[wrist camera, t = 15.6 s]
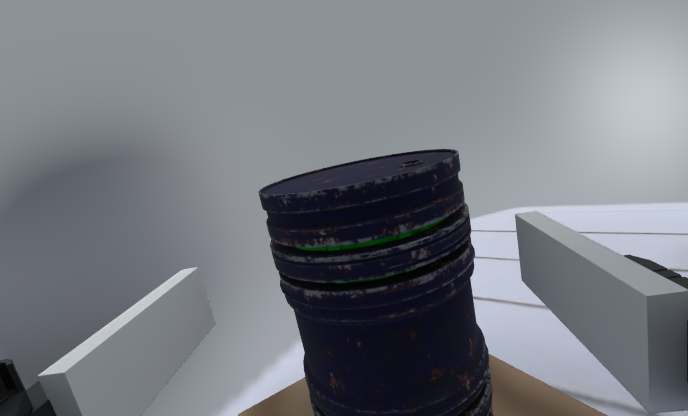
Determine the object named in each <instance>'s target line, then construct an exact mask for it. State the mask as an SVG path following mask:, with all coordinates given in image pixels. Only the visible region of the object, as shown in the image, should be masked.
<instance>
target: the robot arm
mask: <svg viewBox="0 0 688 416" xmlns="http://www.w3.org/2000/svg"><path fill="white" fill-rule="evenodd" d="M515 219H516V229H517V238H518V248H519V258H520V267H521V277H522V281H523V282H524V283H525V284H526V285H527V286H528V287H529V288H530V289H531V290H532V292H533V293H534V294H535V295H536V296H537V297H538V298H539V299H540V300H541V301H542V302H543V303H544V304H545V305H546V306H547V307H548V308H549V309H550V310H551V311H552V312H553V313H554V314H555V316H556V317H557V318H558V319H559V320H560V321H561V322H562V323H563V324H564V325H565V326H566V327H567V328H568V329H569V330H570V331H571V332H572V333H573V334H574V335H575V336H576V337H577V339H578V340H579V341H580V342H581V343H582V344H583V345H584V346H585V347H586V348H587V349H588V350H589V351H590V352H591V353H592V354H593V355H594V356H595V357H596V358H597V359H598V360H599V361H600V363H601V364H602V365H603V366H604V367H605V368H606V369H607V370H608V371H609V372H610V373H611V374H612V375H613V376H614V377H615V378H616V379H617V380H618V381H619V382H620V383H621V384H622V385H623V387H624V388H625V389H626V390H627V391H628V392H629V393H630V394H631V395H632V396H633V397H634V398H635V399H636V400H637V401H638V402H639V403H640V404H641V405H642V406H643V407H644V408H645V409H646V411H647V412H648V413H649V414H652V413H663V412H674V411H685V410H688V278H686V277H681V275H680V274H678V273H675V272H673V271H671V270H667V268H665V267H663V266H661V265H659V264H657V263H655V262H653V261H651V260H647V259H643V258H639V257H635V256H631V255H624V256H622V255H620V254H618V253H616V252H615V251H613V250H611V249H609V248H607V247H605V246H603V245H601V244H599V243H597V242H595V241H593V240H591V239H589V238H588V237H586V236H584V235H582V234H580V233H578V232H576V231H574V230H572V229H570V228H568V227H566V226H564V225H562V224H561V223H559V222H557V221H555V220H553V219H551V218H549V217H547V216H545V215H543V214H541V213H539V212H537V211H532V212H526V213H520V214H515ZM215 324H216V323H215V320H214V316H213V313H212V310H211V307H210V303H209V300H208V297H207V294H206V290H205V287H204V284H203V281H202V277H201V274H200V271H199V268H198V267H196V268H189V269H184V270H181V271H180V272H178V273H177V274H176V275H174V276H173V277H171V278H170V279H169V280H167V281H166V282H165V283H163V284H162V285H161V286H159V287H158V288H157V289H155V290H154V291H152V292H151V293H150V294H148V295H147V296H146V297H145V298H143V299H142V300H140V301H139V302H137V303H136V304H135V305H133V306H132V307H131V308H129V309H128V310H127V311H125V312H124V313H123V314H121V315H120V316H118V317H117V318H116V319H114V320H113V321H112V322H110V323H109V324H108V325H106V326H105V327H103V328H102V329H101V330H99V331H98V332H97V333H95V334H94V335H93V336H91V337H90V338H88V339H87V340H86V341H84V342H83V343H82V344H80V345H79V346H78V347H76V348H75V349H74V350H72V351H71V352H69V353H68V354H67V355H65V356H64V357H63V358H61V359H60V360H59V361H57V362H56V363H55V364H53V365H52V366H50V367H49V368H48V369H46V370H45V371H44V372H42V373H41V374H39V375H38V378H39V381H38V382H37V383H35V384H34V385H33V386H31V387H30V388H29V389H27V390H25V388H24V386H23V383H22V381H21V379H20V377H19V375H18V372H17V370H16V368H15V365H14V363H13V361H12V360H8V359H5V360H0V416H142V414H143V413H144V412H145V411H146V409H147V408H148V407H149V406H150V404H151V403H152V402H153V401H154V400H155V398H156V397H157V396H158V395H159V393H160V392H161V391H162V390H163V388H164V387H165V386H166V385H167V384H168V382H169V381H170V380H171V379H172V377H173V376H174V375H175V374H176V372H177V371H178V370H179V369H180V368H181V366H182V365H183V363H185V361H186V360H187V359H188V358H189V356H190V355H191V354H192V353H193V352H194V350H195V349H196V348H197V347H198V345H199V344H200V343H201V342H202V340H203V339H204V338H205V337H206V335H207V334H208V333H209V332H210V331H211V329H212V328H213V327H214V326H215Z"/></svg>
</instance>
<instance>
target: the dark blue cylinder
mask: <svg viewBox="0 0 688 416" xmlns="http://www.w3.org/2000/svg"><path fill="white" fill-rule="evenodd" d="M459 171H460V162H459V154H458V151H457V150H453V149H435V150H422V151H414V152H406V153H399V154H392V155H386V156H380V157H375V158H369V159H364V160H359V161H354V162H350V163H345V164H340V165H335V166H331V167H327V168H323V169H319V170H315V171H311V172H307V173H303V174H300V175H296V176H293V177H290V178H287V179H283V180H281V181H278V182H275V183H273V184H270V185H268V186H266V187H264V188H262V189H261V190H260V191H259V196H260V200H261V203H262V207H263V209H264V210H266V211H267V215H268V219H267V222H266V223H267V226H268V231H269V234H270V237H271V239H272V240H271V243H270V247H271V250H272V255H273V259H274V262H275V266H276V268H277V270H278V271H279V274H280V278H281V280H280V287H281V289H282V292H283V293H284V294H285V297H286V300H287V302H288V304H290V306H291V307H292V308H293V309H294V312H295V315H296V320H297V324H298V328H299V331H300V335H301V339H302V343H303V347H304V351H305V355H304V361H303V362H304V372H305V378H306V382H307V385H308V388H309V395H310V401H311V405H312V409H313V412H314V416H493V413H492V397H493V391H492V382H491V375H490V367H489V354H488V348H487V346H486V344H485V339H484V336H483V333H482V331H481V329H480V328H479V326H478V325H477V323H476V317H475V310H474V303H473V295H472V288H471V281H470V277H471V276H472V274H473V270H474V257H475V251H474V247H473V246H472V244H471V238H470V234H471V225H470V217H469V210H468V206H467V204H466V203H465V202H464V192H463V184H462V183H461V181H460V180H459V179H458V172H459Z"/></svg>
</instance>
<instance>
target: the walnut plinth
mask: <svg viewBox="0 0 688 416" xmlns="http://www.w3.org/2000/svg"><path fill="white" fill-rule="evenodd" d="M489 367H490V375H491V382H492V391H493V397H492V413H493V416H607V415H605V414H603V413H601V412H599V411H597V410H595V409H594V408H592V407H590V406H588V405H586V404H584V403H582V402H580V401H578V400H576V399H574V398H572V397H571V396H569V395H567V394H565V393H563V392H561V391H559V390H557V389H555V388H553V387H551V386H549V385H547V384H546V383H544V382H542V381H540V380H538V379H536V378H534V377H532V376H530V375H528V374H526V373H524V372H523V371H521V370H519V369H517V368H515V367H513V366H511V365H509V364H507V363H505V362H503V361H501V360H499V359H498V358H496V357H494V356H492V355H490V354H489ZM238 416H314V412H313V409H312V405H311V401H310V395H309V388H308V385H307V382H306V378H303V379H301V380H299V381H297V382H296V383H294V384H292V385H290V386H288V387H287V388H285V389H283V390H281V391H279V392H278V393H276V394H274V395H272V396H270V397H269V398H267V399H265V400H263V401H261V402H260V403H258V404H256V405H254V406H252V407H251V408H249V409H247V410H245V411H243V412H242V413H240V414H238Z"/></svg>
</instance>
